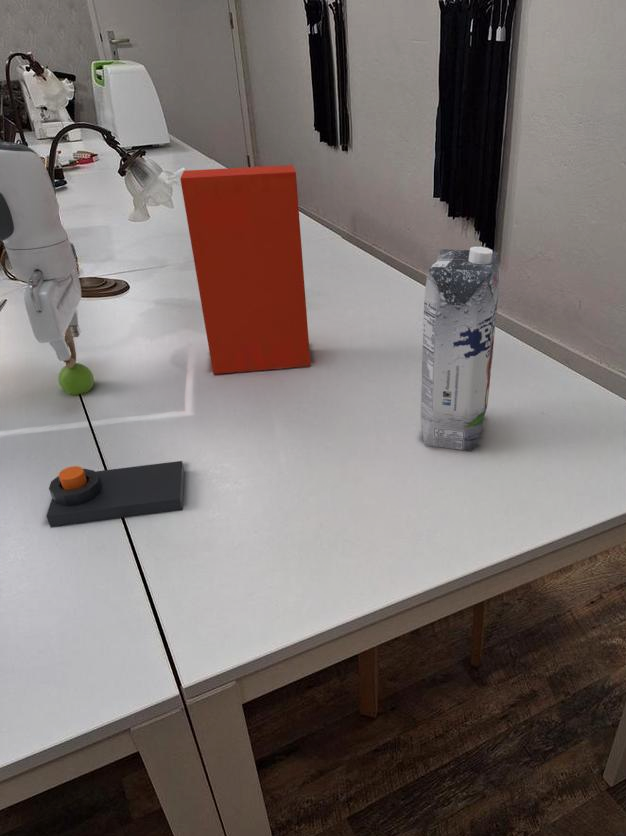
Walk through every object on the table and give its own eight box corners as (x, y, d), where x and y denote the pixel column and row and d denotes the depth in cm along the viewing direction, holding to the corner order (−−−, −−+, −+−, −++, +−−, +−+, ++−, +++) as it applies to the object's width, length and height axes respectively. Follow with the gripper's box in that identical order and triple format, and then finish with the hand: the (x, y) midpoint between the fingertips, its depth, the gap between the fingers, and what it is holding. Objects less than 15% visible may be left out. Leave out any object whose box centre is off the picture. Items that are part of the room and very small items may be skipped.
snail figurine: (100, 383, 114) (82, 316, 107) (94, 399, 109) (74, 331, 102) (68, 386, 113) (47, 319, 106) (60, 403, 108) (38, 334, 101)
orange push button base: (50, 528, 81) (42, 505, 78) (63, 487, 88) (55, 465, 86) (182, 510, 83) (177, 488, 81) (184, 472, 90) (179, 450, 88)
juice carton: (416, 449, 93) (421, 258, 78) (430, 414, 102) (437, 235, 86) (478, 457, 91) (496, 262, 76) (487, 420, 100) (505, 238, 84)
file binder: (214, 357, 122) (183, 169, 103) (307, 349, 124) (292, 164, 105) (213, 375, 115) (180, 178, 97) (310, 367, 117) (295, 172, 99)
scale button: (60, 492, 81) (56, 480, 80) (64, 479, 84) (60, 467, 83) (85, 489, 82) (81, 477, 81) (88, 476, 84) (85, 464, 83)
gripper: (51, 280, 90) (80, 371, 98) (75, 241, 107) (98, 322, 115) (3, 285, 89) (36, 376, 97) (35, 245, 106) (61, 326, 114)
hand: (70, 346), depth 106 cm, fingers open, 8 cm apart
